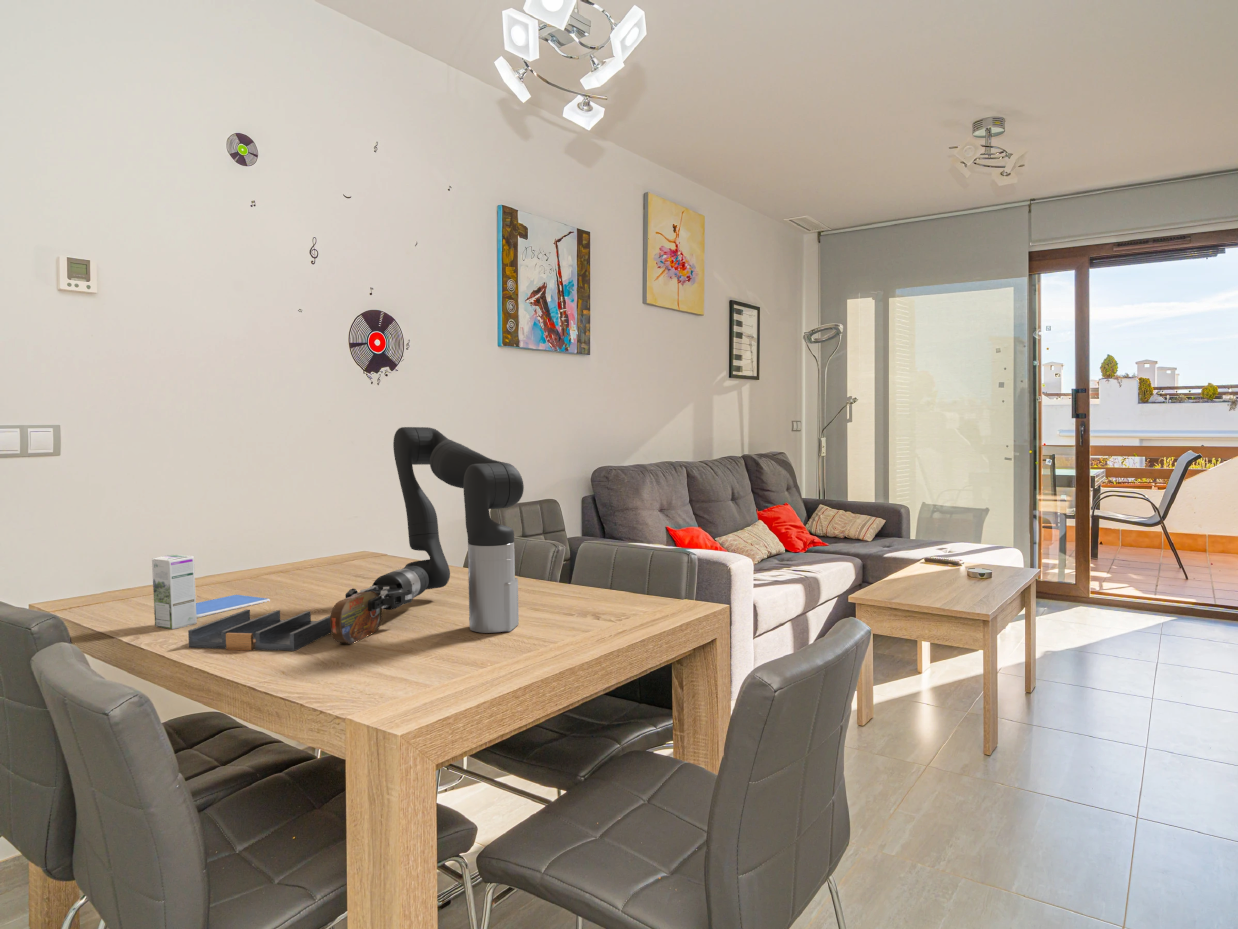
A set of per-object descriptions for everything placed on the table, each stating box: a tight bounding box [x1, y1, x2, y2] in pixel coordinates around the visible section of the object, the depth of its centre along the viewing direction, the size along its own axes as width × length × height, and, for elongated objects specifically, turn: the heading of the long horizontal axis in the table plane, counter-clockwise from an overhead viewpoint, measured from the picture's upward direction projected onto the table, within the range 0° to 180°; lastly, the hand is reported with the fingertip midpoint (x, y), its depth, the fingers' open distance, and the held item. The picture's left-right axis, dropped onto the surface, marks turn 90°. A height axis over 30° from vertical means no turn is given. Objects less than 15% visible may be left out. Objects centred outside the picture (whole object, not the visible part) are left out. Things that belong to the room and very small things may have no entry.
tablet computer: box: [196, 594, 271, 619], centre depth 175 cm, size 19×13×1 cm, turn 154°
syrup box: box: [151, 554, 198, 630], centre depth 157 cm, size 6×6×14 cm
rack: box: [187, 609, 332, 652], centre depth 147 cm, size 21×18×3 cm
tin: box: [329, 591, 383, 645], centre depth 146 cm, size 15×3×8 cm, turn 168°
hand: (358, 605), depth 147 cm, fingers open, 4 cm apart
